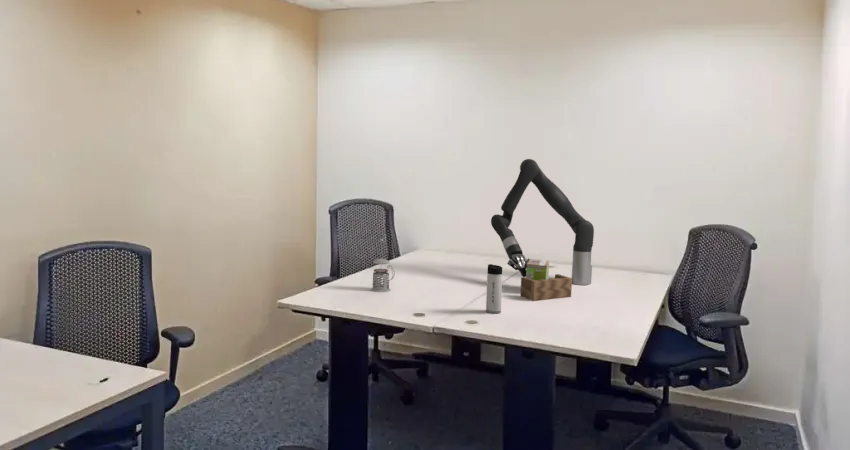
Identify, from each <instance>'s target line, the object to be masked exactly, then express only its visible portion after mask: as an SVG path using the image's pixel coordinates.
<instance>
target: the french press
mask: <svg viewBox="0 0 850 450" xmlns="http://www.w3.org/2000/svg"><path fill="white" fill-rule="evenodd" d="M379 242H380V250H382V242H384V239H383V238H380V239H379ZM372 264H375V265H387V267H386V268H374V269H373V272H372V288H371V289H370V291H371V292H373V293H388V292H392V290H391V288H390V281H392V280H393V279H394V278H395V275H392V276H391V278H390V272H389V269H391V271H392V272H393V274H395V268H394V267H393V266H392V265H391V264H390V261H389V260H387V259H386V258H383V257H380V258H376V259H374V260H373V261H372ZM388 264H390V265H388Z"/></svg>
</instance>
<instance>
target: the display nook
mask: <svg viewBox="0 0 850 450" xmlns="http://www.w3.org/2000/svg"><path fill="white" fill-rule="evenodd" d="M520 280H521V281H520V297H521V298H524V299H526V300H529V301H532V302H538V301H546V300H554V299H555V300H557V299H564V298H571V297H572V289H573V285H572V284H573V283H572V277H568V276H567V275H564V274H563V275H562V274H559V273H558V274H557V273H556V274H554V278H548V279H546V280H536V281H535V280H532V279H529V278H526V277H523V276H522V277H520Z"/></svg>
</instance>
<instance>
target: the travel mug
mask: <svg viewBox="0 0 850 450" xmlns="http://www.w3.org/2000/svg"><path fill="white" fill-rule="evenodd" d="M486 274H487V275H486V276H487V277H486V301H485V308H486V309H485V312H486V313H488V314H491V315H496V314H500V313H501V312H502V297H503V296H502V293H503V266H501V265H497V264H492V263H489V264H487V273H486Z"/></svg>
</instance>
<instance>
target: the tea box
mask: <svg viewBox="0 0 850 450" xmlns="http://www.w3.org/2000/svg"><path fill="white" fill-rule="evenodd" d="M529 259H530V258H529ZM549 269H550V260H545V259H544V260H543V259H532V258H531V259H530V260H529V261H528V263H527V268H526V278H529V279H532V280H535V281H536V280H546V279H549V273H550V272H549V271H550V270H549Z"/></svg>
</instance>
